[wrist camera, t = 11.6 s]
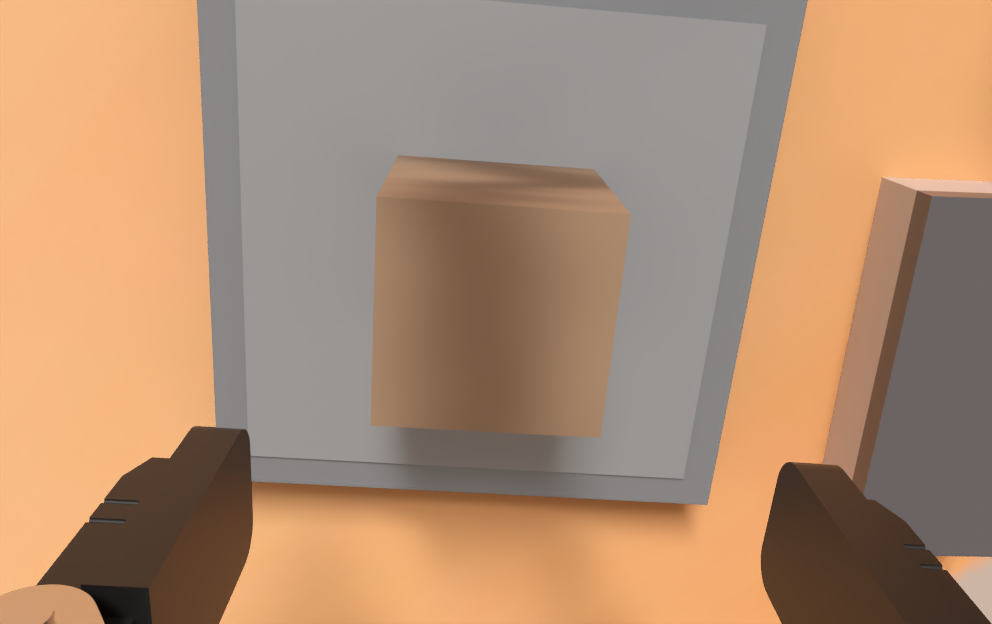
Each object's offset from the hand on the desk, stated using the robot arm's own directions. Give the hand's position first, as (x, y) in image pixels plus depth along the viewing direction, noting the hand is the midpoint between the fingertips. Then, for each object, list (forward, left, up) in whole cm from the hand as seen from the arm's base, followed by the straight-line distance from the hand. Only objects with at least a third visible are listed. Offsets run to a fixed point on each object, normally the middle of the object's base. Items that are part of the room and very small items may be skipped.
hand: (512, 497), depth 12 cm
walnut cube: (0, 0, -12) cm, 12 cm away
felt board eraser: (-15, +3, -15) cm, 21 cm away
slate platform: (0, 0, -14) cm, 14 cm away
